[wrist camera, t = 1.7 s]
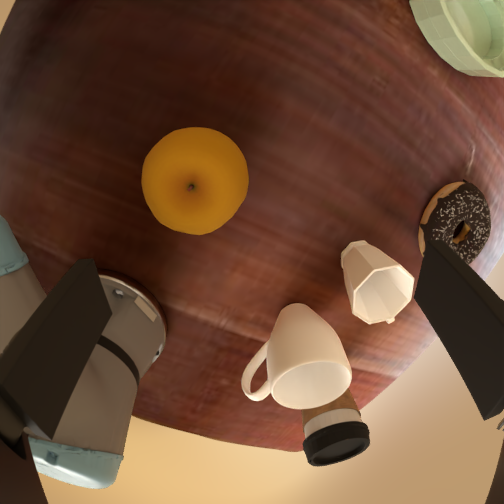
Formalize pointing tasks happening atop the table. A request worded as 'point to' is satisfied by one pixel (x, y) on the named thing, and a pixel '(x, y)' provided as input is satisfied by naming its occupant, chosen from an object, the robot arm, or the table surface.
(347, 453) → the coffee cup
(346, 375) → the mug
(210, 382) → the table surface
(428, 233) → the donut
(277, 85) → the table surface
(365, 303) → the cup
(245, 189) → the apple
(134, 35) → the table surface
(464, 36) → the serving bowl
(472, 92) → the table surface
